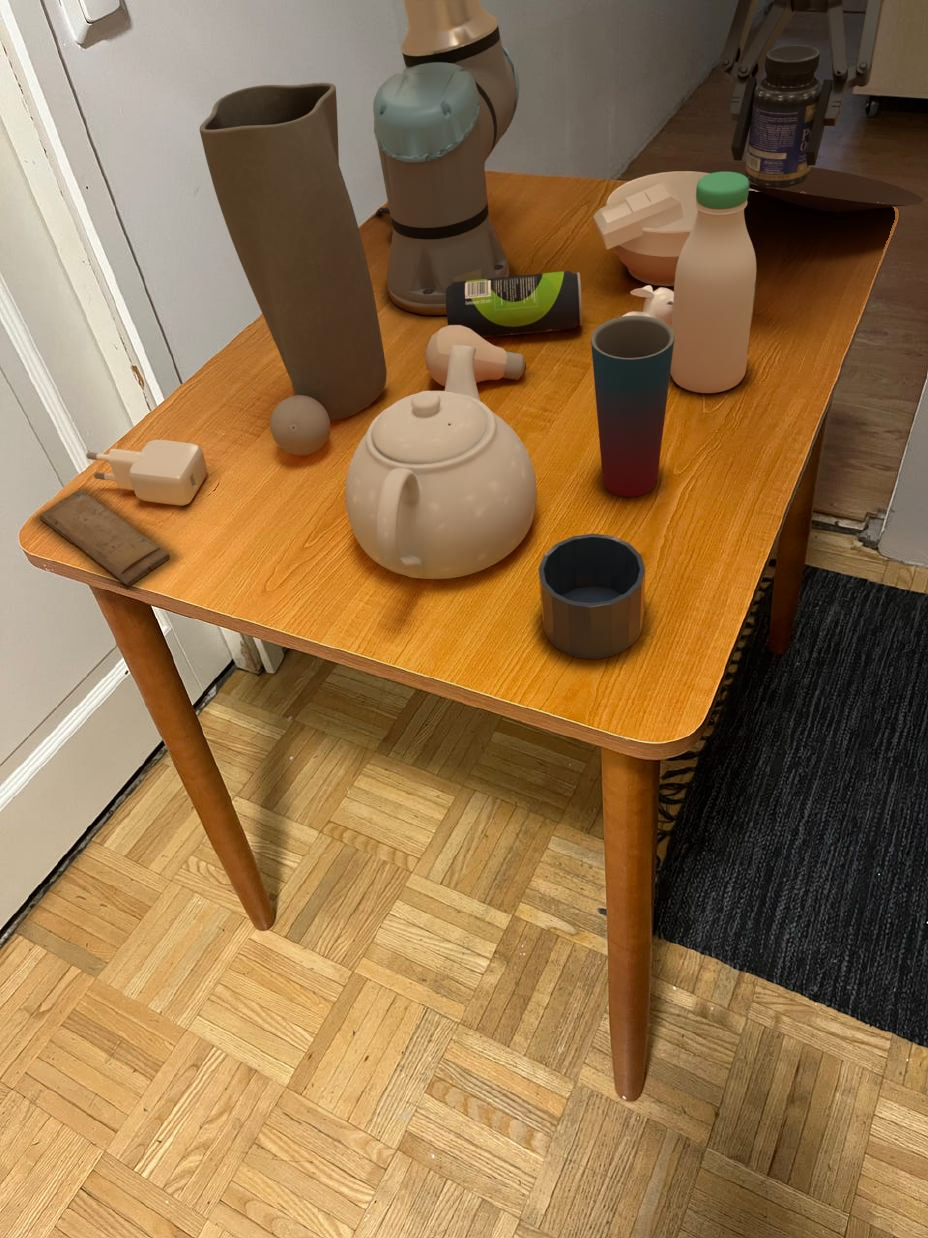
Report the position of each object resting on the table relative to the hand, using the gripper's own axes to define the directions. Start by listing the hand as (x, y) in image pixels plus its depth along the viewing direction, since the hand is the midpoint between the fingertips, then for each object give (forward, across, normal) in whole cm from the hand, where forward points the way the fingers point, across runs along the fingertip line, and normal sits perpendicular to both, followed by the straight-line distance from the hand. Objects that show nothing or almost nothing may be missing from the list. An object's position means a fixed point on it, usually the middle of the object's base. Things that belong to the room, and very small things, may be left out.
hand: (773, 155), depth 89 cm
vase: (+30, +39, +2) cm, 49 cm away
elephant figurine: (+16, +8, -5) cm, 19 cm away
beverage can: (+17, +33, -6) cm, 37 cm away
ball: (+37, +39, +10) cm, 55 cm away
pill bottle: (0, 0, -5) cm, 5 cm away
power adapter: (+39, +51, +15) cm, 66 cm away
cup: (+33, +5, +5) cm, 34 cm away
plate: (-9, +1, -34) cm, 35 cm away
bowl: (+4, +13, -24) cm, 27 cm away
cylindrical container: (+45, +2, +18) cm, 49 cm away
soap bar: (+2, +15, -15) cm, 21 cm away
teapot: (+41, +19, +13) cm, 47 cm away
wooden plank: (+47, +50, +20) cm, 71 cm away
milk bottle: (+19, +3, -8) cm, 21 cm away
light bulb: (+25, +26, -3) cm, 36 cm away
